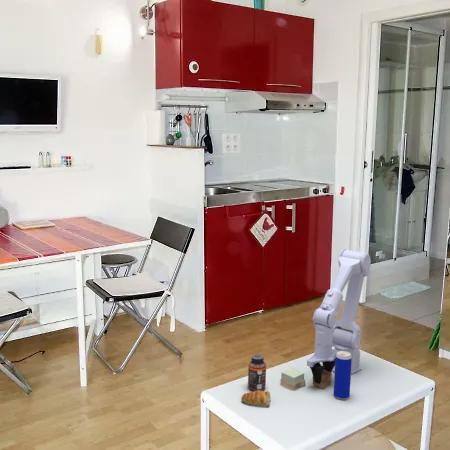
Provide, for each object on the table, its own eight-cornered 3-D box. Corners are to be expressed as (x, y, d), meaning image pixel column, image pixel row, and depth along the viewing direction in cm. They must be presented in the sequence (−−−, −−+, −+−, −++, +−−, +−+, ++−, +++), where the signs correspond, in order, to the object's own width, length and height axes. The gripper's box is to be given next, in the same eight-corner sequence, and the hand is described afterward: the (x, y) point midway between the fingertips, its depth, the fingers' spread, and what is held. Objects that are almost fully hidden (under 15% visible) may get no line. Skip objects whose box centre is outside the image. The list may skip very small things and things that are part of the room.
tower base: (292, 380, 191) (292, 373, 190) (305, 386, 186) (305, 379, 186) (280, 385, 187) (280, 378, 186) (293, 392, 182) (293, 385, 182)
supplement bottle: (264, 393, 181) (265, 361, 179) (246, 391, 182) (247, 359, 180) (266, 385, 186) (267, 353, 184) (249, 383, 187) (250, 352, 185)
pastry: (240, 406, 172) (240, 395, 171) (242, 396, 179) (242, 385, 178) (270, 408, 171) (270, 397, 170) (270, 398, 178) (271, 387, 177)
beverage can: (339, 391, 182) (341, 348, 180) (352, 396, 179) (355, 353, 176) (330, 396, 179) (332, 353, 176) (343, 402, 175) (346, 358, 173)
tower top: (291, 374, 190) (292, 367, 189) (304, 380, 186) (304, 373, 185) (281, 379, 186) (281, 372, 186) (293, 384, 182) (293, 377, 182)
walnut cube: (320, 380, 190) (321, 368, 190) (331, 384, 187) (331, 372, 186) (312, 384, 187) (312, 371, 187) (322, 388, 184) (323, 376, 183)
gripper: (319, 352, 177) (317, 391, 179) (346, 341, 186) (344, 378, 189) (302, 345, 182) (301, 383, 184) (329, 335, 192) (328, 371, 194)
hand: (321, 380), depth 187 cm, fingers closed on walnut cube, 4 cm apart
